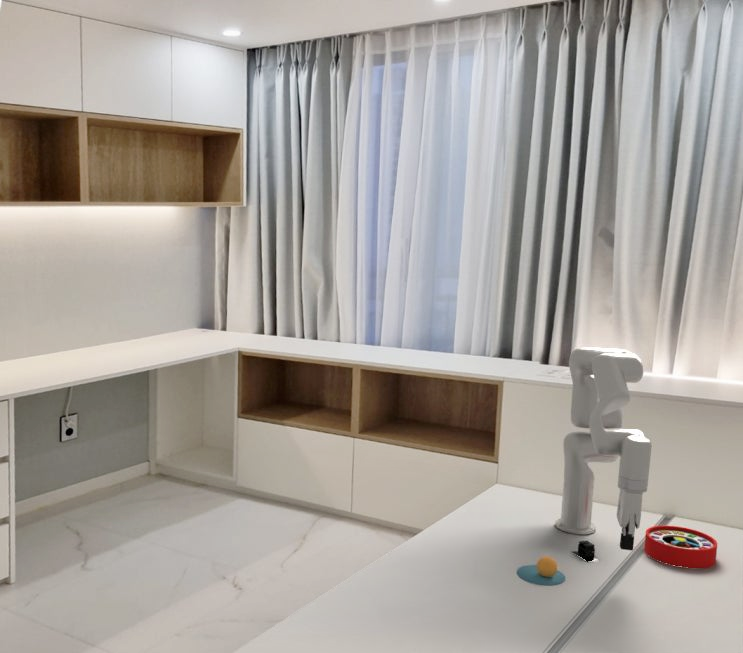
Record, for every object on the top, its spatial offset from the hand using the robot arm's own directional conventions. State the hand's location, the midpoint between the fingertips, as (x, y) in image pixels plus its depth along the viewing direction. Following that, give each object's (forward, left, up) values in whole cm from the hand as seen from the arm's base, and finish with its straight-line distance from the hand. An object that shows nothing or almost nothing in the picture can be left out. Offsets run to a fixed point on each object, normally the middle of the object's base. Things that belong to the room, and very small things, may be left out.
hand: (626, 548), depth 210 cm
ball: (+1, -20, -7) cm, 22 cm away
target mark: (+1, -22, -10) cm, 24 cm away
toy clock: (-27, +20, -11) cm, 35 cm away
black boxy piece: (-18, -8, -11) cm, 22 cm away
